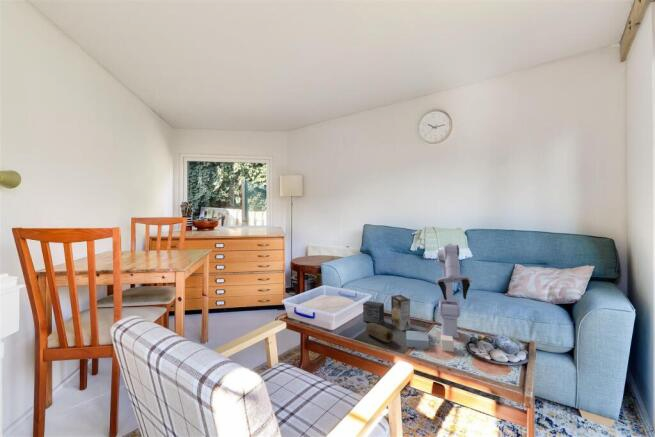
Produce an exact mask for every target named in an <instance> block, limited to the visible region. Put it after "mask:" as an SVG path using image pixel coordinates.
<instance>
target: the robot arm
mask: <svg viewBox="0 0 655 437" xmlns="http://www.w3.org/2000/svg"><path fill="white" fill-rule="evenodd" d="M459 257H460V247H459V244H452V243H447V244H445V245H443V247H439V248H438V249H437V250H436V259H437V265H438V266H439V267H441V270H442V277H439V278H435V284H436V285H438V286H439V288H440V290H441V292H442V296H443V297H442V298H439V300H438V315H439V316H441V328H440V329H439V330H440V336H441V335H444V336H452V337H453V339H454V338H455V339H459V338H460V336H459V333H458V318H460V317H461V306H460V302H459V300H458V299H456V298H455V297H454V290H453V289H454V288H453V284H458V283H461V286H462V296H463V297H462V298H463V300H467V296H468V291H469V288H470V286H471V283H473V279H472V278H473V277H472V276H471V275H461V270H460V260H459V259H460V258H459Z"/></svg>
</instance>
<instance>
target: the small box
mask: <svg viewBox="0 0 655 437" xmlns="http://www.w3.org/2000/svg"><path fill="white" fill-rule="evenodd" d="M384 303H385V302H384ZM384 303H383V302H376V301H370V300H366V301H365V302H363V303H362V305H363V306H362V307H363V308H362V309H363V320H362V321H363V323H364V322H365V323H368V324H369V323H375V324H378V325H381V324H383V323H384V322H385V304H384Z"/></svg>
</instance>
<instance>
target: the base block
mask: <svg viewBox="0 0 655 437" xmlns="http://www.w3.org/2000/svg"><path fill="white" fill-rule="evenodd" d="M405 333H406V334H405V336H406V338H405V345H406V347H405V348H412V347H418V348H417V349H424V348H429V349H430V339H429V334H428V331H418V330H417V331H416V330H408V329H406V330H405Z"/></svg>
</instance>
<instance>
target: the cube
mask: <svg viewBox="0 0 655 437" xmlns="http://www.w3.org/2000/svg"><path fill="white" fill-rule="evenodd" d="M454 346H455V345H454V337H452V336H444V335H441V334H440V348H441V352H452V353H453V352H454V351H455V350H454V348H455V347H454Z"/></svg>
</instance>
